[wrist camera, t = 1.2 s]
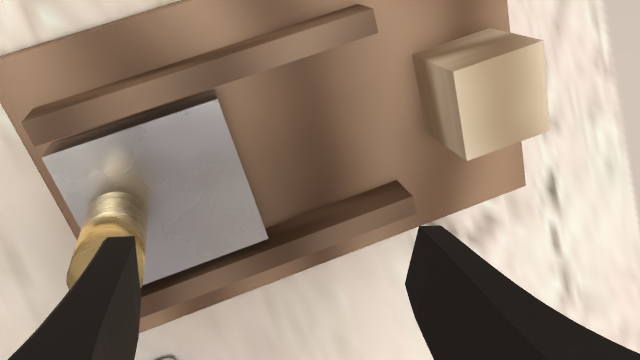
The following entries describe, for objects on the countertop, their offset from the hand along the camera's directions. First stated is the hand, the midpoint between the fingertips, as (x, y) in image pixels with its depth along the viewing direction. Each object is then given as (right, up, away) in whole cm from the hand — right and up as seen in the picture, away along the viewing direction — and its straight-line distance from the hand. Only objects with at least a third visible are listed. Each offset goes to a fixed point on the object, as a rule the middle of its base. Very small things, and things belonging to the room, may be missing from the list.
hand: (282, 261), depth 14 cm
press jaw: (-6, +2, +10) cm, 12 cm away
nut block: (+8, +7, +12) cm, 16 cm away
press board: (0, +5, +12) cm, 13 cm away
